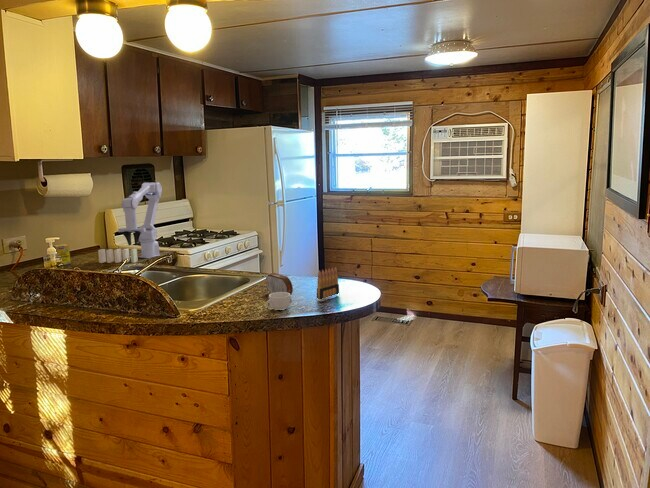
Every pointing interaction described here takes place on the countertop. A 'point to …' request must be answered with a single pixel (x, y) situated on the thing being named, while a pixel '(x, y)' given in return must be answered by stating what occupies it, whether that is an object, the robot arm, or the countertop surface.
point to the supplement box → (63, 253)
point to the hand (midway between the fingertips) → (133, 244)
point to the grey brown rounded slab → (278, 283)
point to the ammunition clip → (327, 283)
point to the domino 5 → (134, 255)
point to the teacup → (279, 300)
